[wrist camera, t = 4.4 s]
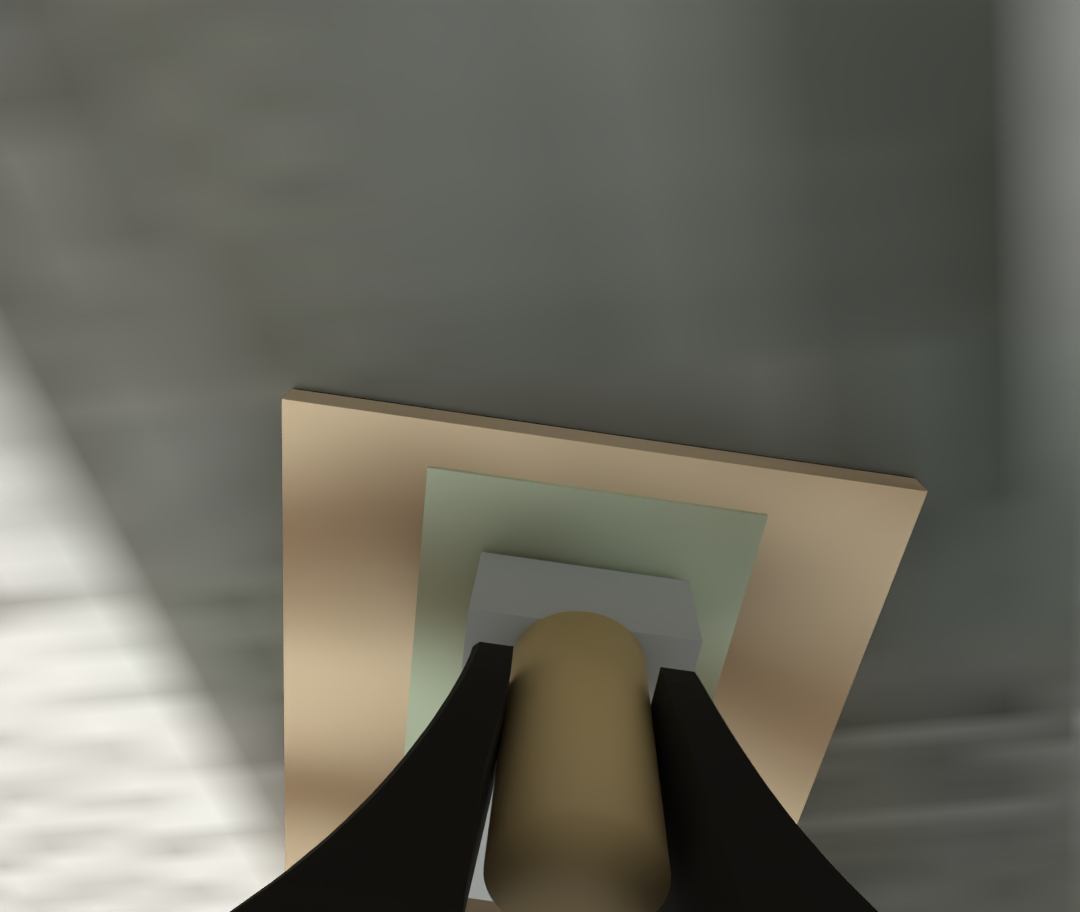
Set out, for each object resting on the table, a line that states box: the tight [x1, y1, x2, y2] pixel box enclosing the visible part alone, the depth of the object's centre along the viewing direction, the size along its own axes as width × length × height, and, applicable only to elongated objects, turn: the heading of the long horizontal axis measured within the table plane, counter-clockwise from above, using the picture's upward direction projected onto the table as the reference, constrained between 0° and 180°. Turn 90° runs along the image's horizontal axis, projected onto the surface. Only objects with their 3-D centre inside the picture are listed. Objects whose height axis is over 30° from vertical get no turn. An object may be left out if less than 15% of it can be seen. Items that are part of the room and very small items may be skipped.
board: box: [282, 389, 927, 912], centre depth 20 cm, size 23×13×1 cm, turn 172°
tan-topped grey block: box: [461, 552, 703, 912], centre depth 15 cm, size 8×4×6 cm, turn 173°
